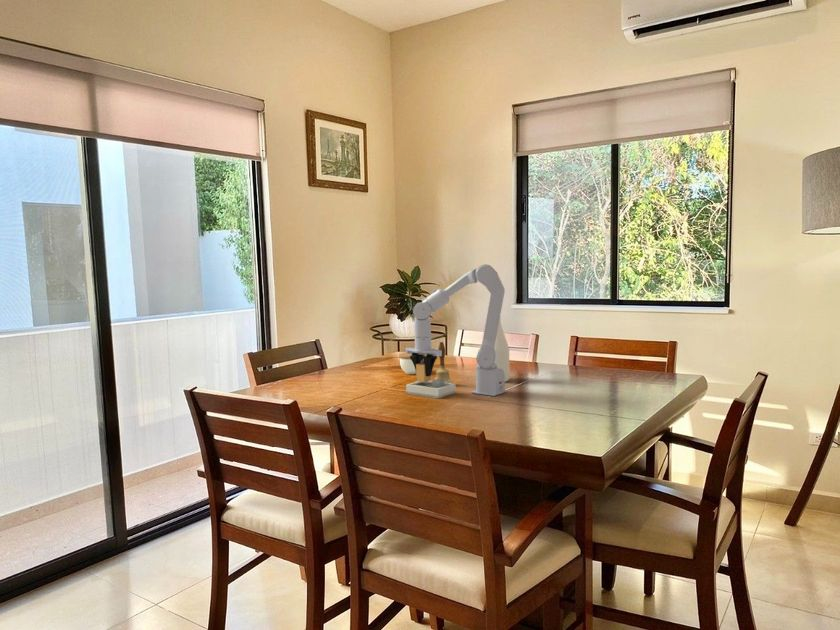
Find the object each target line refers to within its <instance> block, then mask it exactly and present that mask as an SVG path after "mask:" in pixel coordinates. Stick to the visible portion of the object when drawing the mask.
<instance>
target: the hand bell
mask: <svg viewBox="0 0 840 630" xmlns="http://www.w3.org/2000/svg"><path fill="white" fill-rule="evenodd" d="M437 350H442V356H439V368H438V369H437V370H436V371H435V373H436V374H435V378H434V380H436V379H442V380H444V382H445V383H453V384H455V383H454V381H452V379H451V377H450V373H449V370H448V369H447V368H445V355H446V347H445V344H444V342H443V341H439V345H438V347H437Z"/></svg>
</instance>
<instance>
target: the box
mask: <svg viewBox="0 0 840 630" xmlns="http://www.w3.org/2000/svg"><path fill="white" fill-rule="evenodd" d="M453 383H454V382H453ZM453 383H445V382H444V380H442V379H436V380H435V379H431V381H427V382H418V381H415V382H411V383H407V384H405V393H406V395H410V396H411V395H412V396H418V397H425V398H426V397H427V398H432V399H441V398H444V397H447V396H450V395H453V394H456V393H457V392H456V383H454V384H453Z"/></svg>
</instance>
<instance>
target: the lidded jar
mask: <svg viewBox="0 0 840 630" xmlns="http://www.w3.org/2000/svg"><path fill="white" fill-rule="evenodd" d="M411 355H412V354H406V352H403V353H400V354H398V357H399V365H400V367H401V369H402V371H403V372H404V373H405V374H406V375H416V370H415V367H414V364H413V362H412V360H411V359H410V356H411ZM424 356H426V355H424Z"/></svg>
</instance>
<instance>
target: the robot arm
mask: <svg viewBox="0 0 840 630" xmlns="http://www.w3.org/2000/svg"><path fill="white" fill-rule="evenodd" d="M478 282H479V283H480V284H482V285H483V286H484V287H485V288H486V289H487V291H488V292H489V294H490V298H489V303H488V308H487V314H486V318H485V319H486V320H485V324H484V331H483V336H482V342H481V346H480V348H479V349H478V351H477V355H476V357H475V359H476V363H477V364H476V365H475V381H476V382H475V384H476V386H475V390H471V394H478V395H483V396H486V395H487V396H494V397H495V396H498V395H501V394H504V393H506V392H507V390H506V382H505V374H504V371H503V370H502V369H499V368H497V365H496V364H495V363H494V362H495V356H496V354H495V350H494V347H495V341H496V336H497V330H498V325H499V319H500V320H501V313H502V309H503V302H504V297H505V292H506V291H505V286H504V284H503V283H502V280H501V277H500V276H499V274H498V272H497V270H496V269H494V268H493V266H491V265H490V264H482V265H480V266H478V267H477V268H474V269H472V270H470V271H468V272H466V273H465V274H463V275H462V276H460V277H459V278H458V279H457V280H455V281H454V282H453V283H451V284H450V285H449V286H447V287H446V288H445V289H443V288H438V289H437V288H435V289H433V290H432V292H431V294H430V295H428V296H427V297H423V298H422V299H421V302H417V303H416V304H415V305H414V307H413V308H412V309H413V310H412V313H413V316H414V324H413V325H414V327H413V328H414V347H406V348H405V353H406V354H412V355H411V356H410V359H411V360H412V362H413V364H414V367H415V370H416V364H419V363H421V360H424V363H425V373H426V376H430V377H432V371H433V368H434V364H435V363H436V361H437V359H438V357H439V356H442V350H438V349H435V348H432V327H431V325H432V323H431V314H432V313H435V312H437V311H438V310H440V309H441V308H443V307H444V306H445V305H446V304H448V303H449V302H450V298H451V296H453V295H455V293H457V292H459V291H460V290H461V289H463V288H464V287H466V286H468V285H470V284H471V285H472V284H477V283H478ZM424 355H425V356H424ZM439 358H440V357H439Z"/></svg>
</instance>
